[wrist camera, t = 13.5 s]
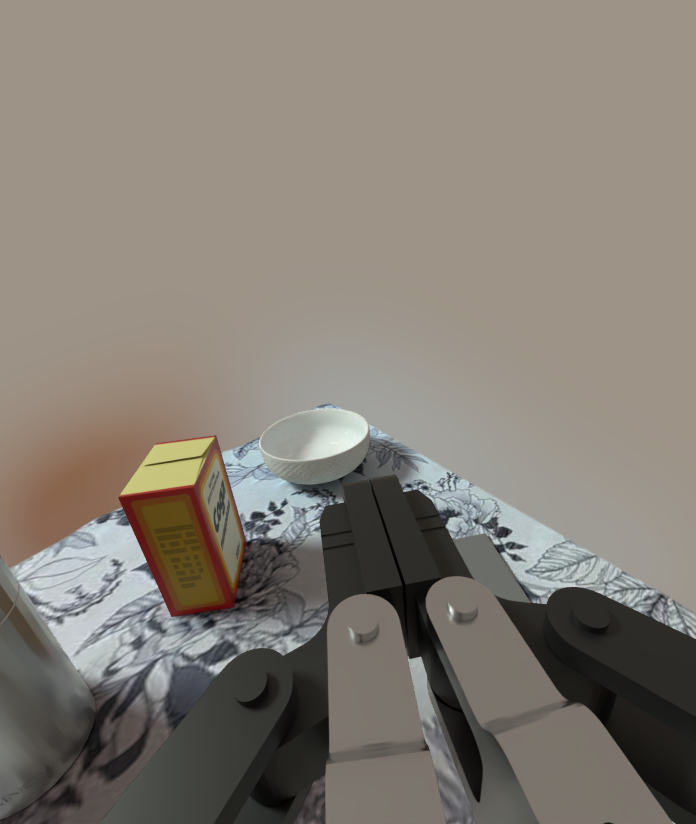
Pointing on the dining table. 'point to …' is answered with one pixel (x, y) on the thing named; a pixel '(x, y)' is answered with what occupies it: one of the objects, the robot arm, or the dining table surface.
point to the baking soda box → (187, 524)
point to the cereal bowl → (315, 445)
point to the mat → (489, 567)
